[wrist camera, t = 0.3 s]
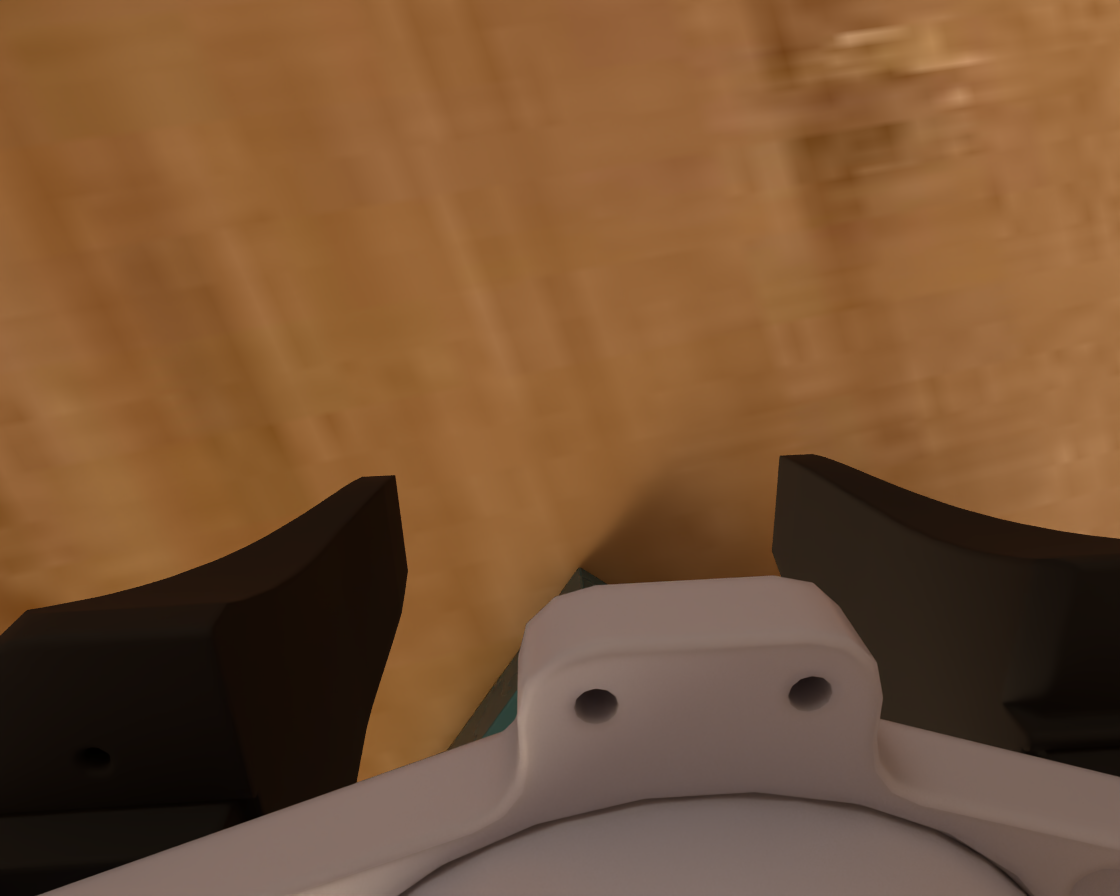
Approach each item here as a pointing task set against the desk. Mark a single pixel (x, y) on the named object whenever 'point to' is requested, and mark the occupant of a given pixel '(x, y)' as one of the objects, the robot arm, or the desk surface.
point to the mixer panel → (509, 686)
